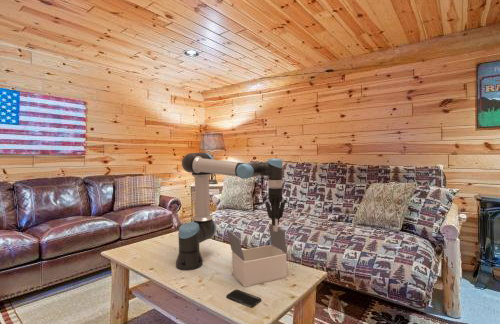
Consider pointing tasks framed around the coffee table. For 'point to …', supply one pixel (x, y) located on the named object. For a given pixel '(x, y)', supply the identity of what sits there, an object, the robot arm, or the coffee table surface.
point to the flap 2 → (278, 238)
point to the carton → (259, 265)
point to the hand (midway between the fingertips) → (275, 230)
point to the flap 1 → (235, 245)
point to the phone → (243, 298)
